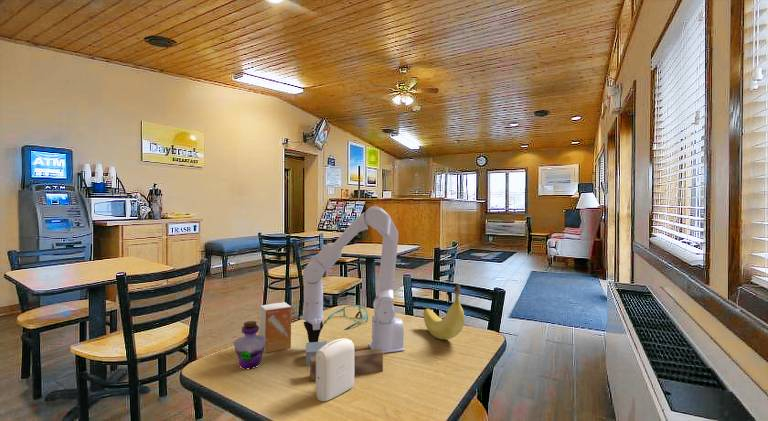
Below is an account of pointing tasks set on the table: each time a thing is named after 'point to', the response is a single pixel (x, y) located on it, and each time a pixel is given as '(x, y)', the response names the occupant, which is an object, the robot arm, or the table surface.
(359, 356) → the walnut board
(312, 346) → the slate block
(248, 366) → the potion bottle
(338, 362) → the photo printer
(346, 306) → the safety glasses
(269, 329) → the small box
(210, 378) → the table surface
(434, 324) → the banana
